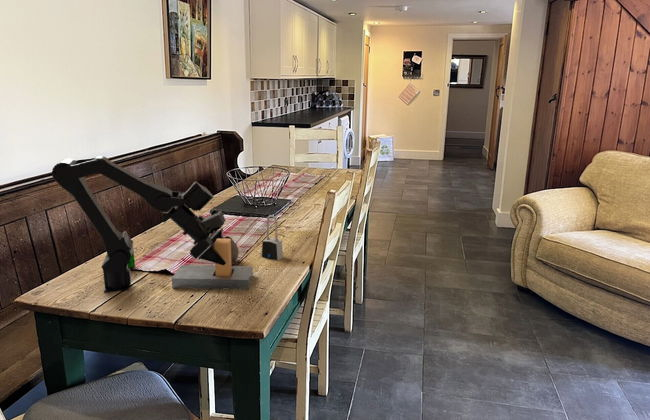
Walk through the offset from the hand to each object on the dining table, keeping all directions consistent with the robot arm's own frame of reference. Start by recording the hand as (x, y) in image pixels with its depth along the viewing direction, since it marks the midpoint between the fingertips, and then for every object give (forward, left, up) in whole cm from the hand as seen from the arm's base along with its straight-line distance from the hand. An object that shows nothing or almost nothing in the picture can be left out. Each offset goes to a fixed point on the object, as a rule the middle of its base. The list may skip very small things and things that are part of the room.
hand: (227, 258), depth 142 cm
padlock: (+17, +16, -8) cm, 25 cm away
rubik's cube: (-31, +19, -8) cm, 38 cm away
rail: (-4, +1, -8) cm, 9 cm away
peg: (-1, 0, -8) cm, 8 cm away
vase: (+2, +15, -8) cm, 17 cm away
